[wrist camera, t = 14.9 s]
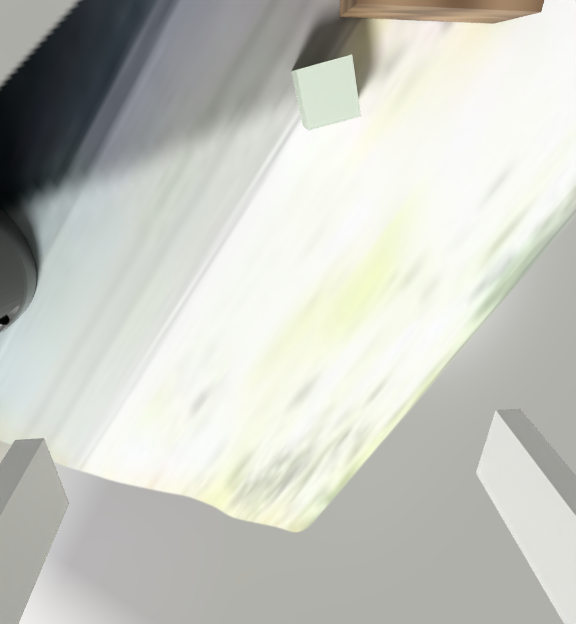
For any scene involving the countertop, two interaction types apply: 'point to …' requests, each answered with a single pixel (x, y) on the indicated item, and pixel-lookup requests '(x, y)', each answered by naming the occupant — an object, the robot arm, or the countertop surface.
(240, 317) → the countertop surface
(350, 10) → the wooden box
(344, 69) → the sage block
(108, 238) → the countertop surface
